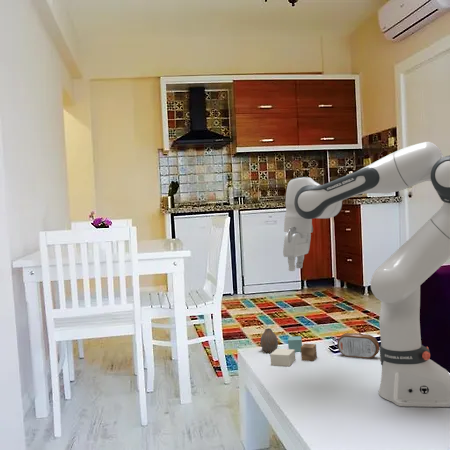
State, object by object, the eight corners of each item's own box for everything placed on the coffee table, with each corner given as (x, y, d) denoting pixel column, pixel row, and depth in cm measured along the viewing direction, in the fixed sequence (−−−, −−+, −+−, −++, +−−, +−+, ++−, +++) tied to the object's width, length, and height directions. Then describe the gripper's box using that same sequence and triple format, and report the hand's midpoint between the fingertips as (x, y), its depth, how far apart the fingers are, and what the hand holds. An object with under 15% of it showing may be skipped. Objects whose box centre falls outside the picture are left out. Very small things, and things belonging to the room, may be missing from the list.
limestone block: (295, 360, 187) (294, 349, 187) (289, 366, 181) (288, 355, 181) (277, 359, 190) (276, 348, 190) (271, 365, 184) (270, 354, 184)
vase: (258, 350, 204) (256, 328, 204) (274, 347, 206) (272, 326, 206) (265, 354, 197) (263, 332, 197) (281, 351, 199) (279, 329, 199)
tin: (380, 357, 182) (378, 334, 182) (378, 360, 179) (376, 336, 179) (340, 354, 190) (338, 331, 190) (337, 356, 188) (335, 334, 187)
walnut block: (316, 357, 189) (315, 344, 188) (313, 361, 185) (312, 347, 184) (305, 356, 191) (304, 343, 190) (301, 360, 187) (300, 347, 186)
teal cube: (302, 348, 201) (301, 336, 201) (302, 352, 196) (300, 339, 196) (289, 349, 202) (288, 336, 202) (289, 353, 197) (287, 340, 197)
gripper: (299, 228, 155) (297, 273, 155) (314, 227, 174) (312, 267, 174) (279, 227, 157) (277, 271, 158) (296, 226, 176) (294, 266, 176)
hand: (295, 269), depth 166 cm, fingers open, 8 cm apart
